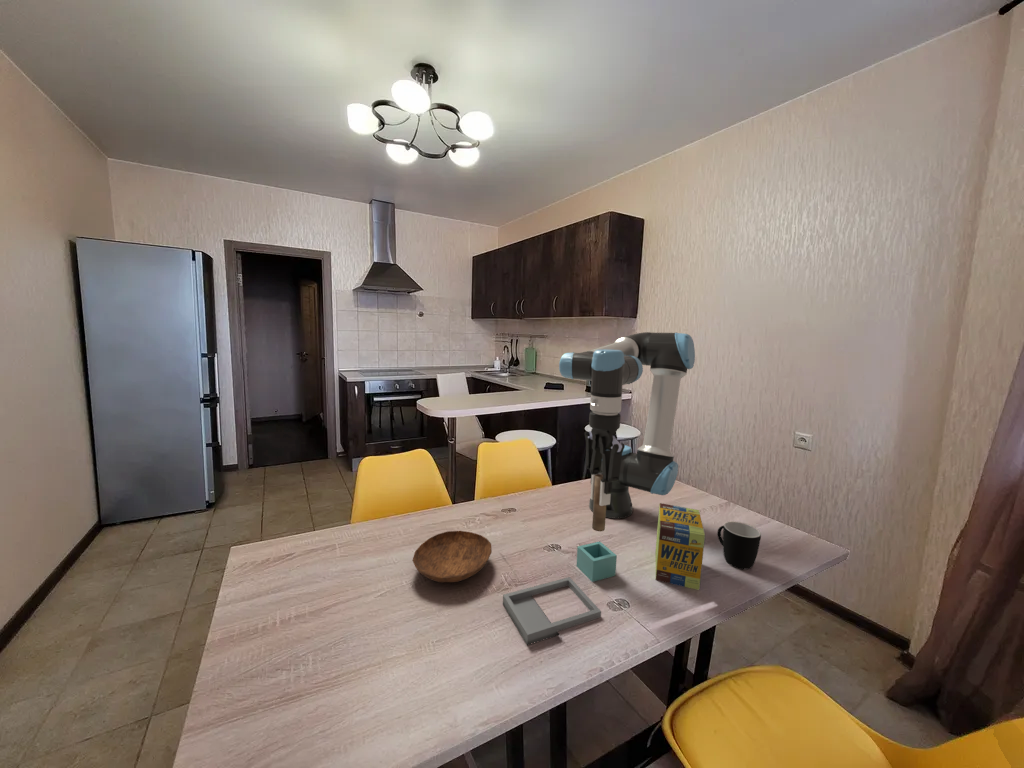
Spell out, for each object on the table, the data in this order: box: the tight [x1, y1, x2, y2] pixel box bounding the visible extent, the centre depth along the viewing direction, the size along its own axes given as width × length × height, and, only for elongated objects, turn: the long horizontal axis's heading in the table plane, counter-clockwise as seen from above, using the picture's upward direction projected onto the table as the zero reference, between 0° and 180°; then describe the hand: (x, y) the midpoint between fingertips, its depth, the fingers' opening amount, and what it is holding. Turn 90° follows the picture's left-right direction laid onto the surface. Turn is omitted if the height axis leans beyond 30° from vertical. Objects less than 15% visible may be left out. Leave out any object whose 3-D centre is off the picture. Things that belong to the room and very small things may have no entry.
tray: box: [502, 576, 602, 646], centre depth 89 cm, size 13×18×2 cm
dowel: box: [591, 474, 607, 532], centre depth 101 cm, size 3×3×14 cm
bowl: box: [412, 530, 493, 583], centre depth 104 cm, size 20×22×5 cm
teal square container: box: [575, 540, 618, 583], centre depth 103 cm, size 7×7×7 cm
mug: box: [716, 520, 762, 570], centre depth 111 cm, size 12×9×10 cm
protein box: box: [654, 502, 706, 591], centre depth 105 cm, size 10×15×16 cm
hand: (600, 501), depth 101 cm, fingers closed on dowel, 3 cm apart
